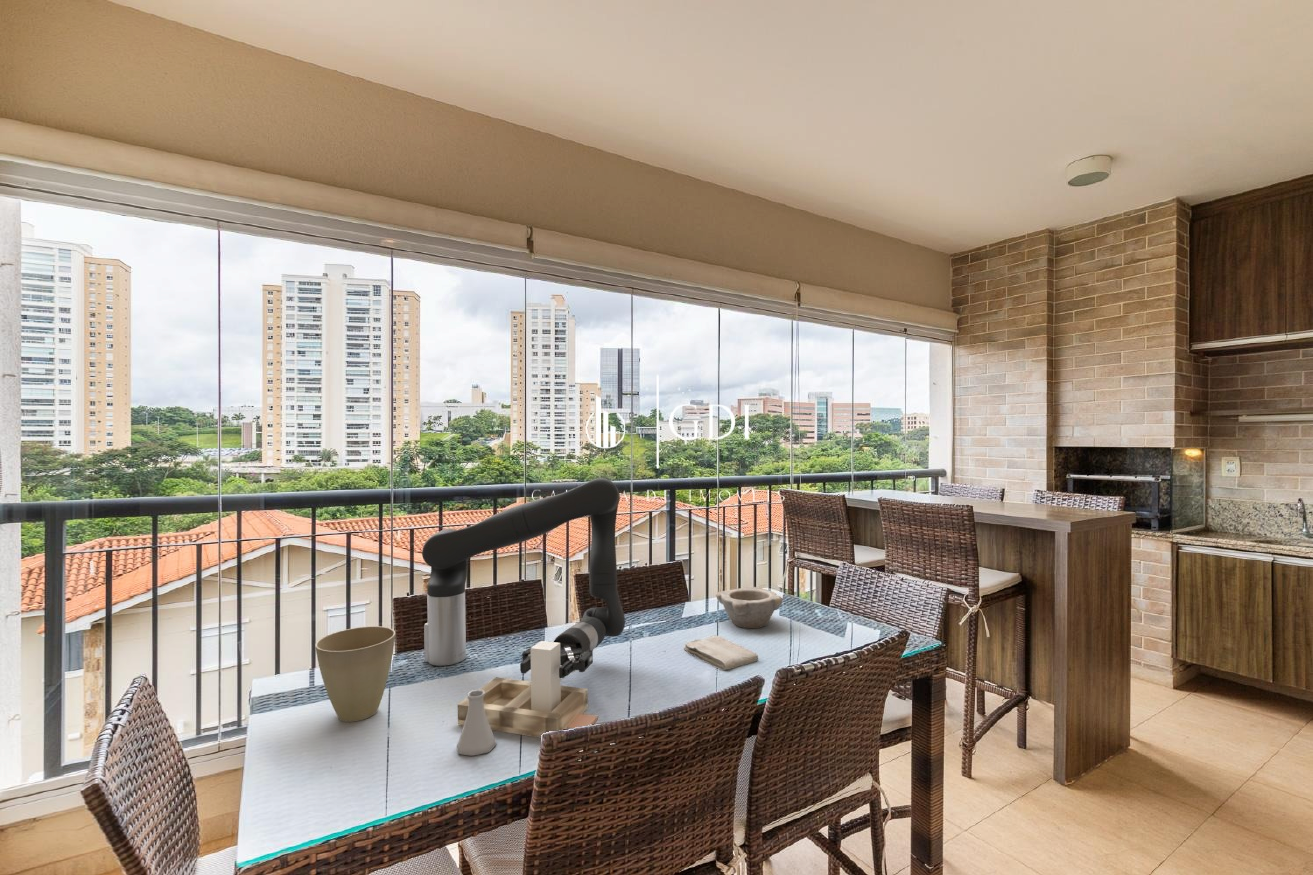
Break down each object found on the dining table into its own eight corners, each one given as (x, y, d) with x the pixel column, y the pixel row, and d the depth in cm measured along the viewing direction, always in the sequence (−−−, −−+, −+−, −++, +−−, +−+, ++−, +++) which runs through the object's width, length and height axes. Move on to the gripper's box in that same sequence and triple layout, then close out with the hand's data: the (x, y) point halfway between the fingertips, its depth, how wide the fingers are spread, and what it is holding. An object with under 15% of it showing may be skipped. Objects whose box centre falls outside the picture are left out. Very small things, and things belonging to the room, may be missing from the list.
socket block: (457, 724, 120) (457, 704, 120) (496, 695, 134) (496, 677, 133) (576, 743, 112) (576, 721, 112) (605, 710, 126) (605, 691, 126)
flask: (461, 737, 115) (460, 685, 115) (499, 735, 116) (499, 684, 115) (451, 758, 108) (451, 702, 108) (492, 756, 108) (492, 700, 108)
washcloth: (715, 642, 167) (714, 631, 167) (760, 662, 152) (760, 650, 152) (680, 651, 160) (680, 640, 160) (725, 673, 146) (724, 660, 146)
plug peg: (531, 717, 121) (530, 648, 120) (541, 708, 125) (540, 640, 125) (551, 720, 119) (550, 650, 119) (560, 710, 124) (560, 642, 123)
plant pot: (341, 697, 133) (340, 625, 133) (408, 698, 132) (407, 626, 132) (299, 731, 118) (298, 650, 118) (374, 732, 117) (373, 650, 117)
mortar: (712, 618, 187) (712, 589, 187) (762, 613, 192) (762, 584, 192) (734, 635, 171) (734, 603, 171) (788, 629, 176) (787, 598, 176)
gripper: (547, 624, 138) (509, 648, 122) (605, 629, 133) (573, 655, 118) (547, 657, 138) (510, 685, 122) (605, 663, 134) (574, 694, 118)
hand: (541, 671), depth 120 cm, fingers open, 8 cm apart
